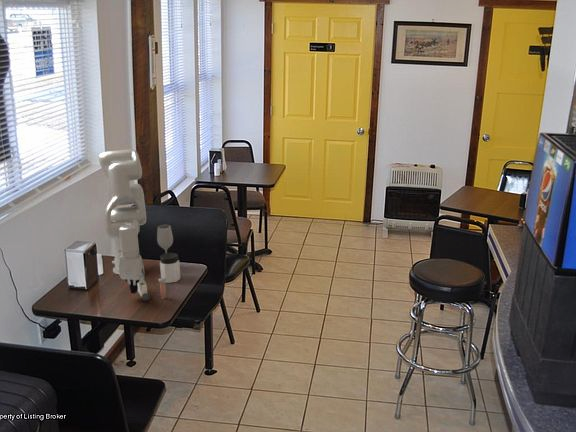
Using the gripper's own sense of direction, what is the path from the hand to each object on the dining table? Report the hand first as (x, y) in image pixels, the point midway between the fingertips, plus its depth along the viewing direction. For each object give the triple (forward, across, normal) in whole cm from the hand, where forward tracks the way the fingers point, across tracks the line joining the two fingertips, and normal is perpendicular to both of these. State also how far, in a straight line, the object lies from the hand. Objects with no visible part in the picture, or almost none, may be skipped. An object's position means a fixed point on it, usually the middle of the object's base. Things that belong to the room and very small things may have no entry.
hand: (134, 292), depth 279 cm
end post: (+3, +12, +3) cm, 13 cm away
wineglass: (+4, -2, +36) cm, 37 cm away
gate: (+3, +2, +4) cm, 5 cm away
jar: (+3, +7, +22) cm, 24 cm away
